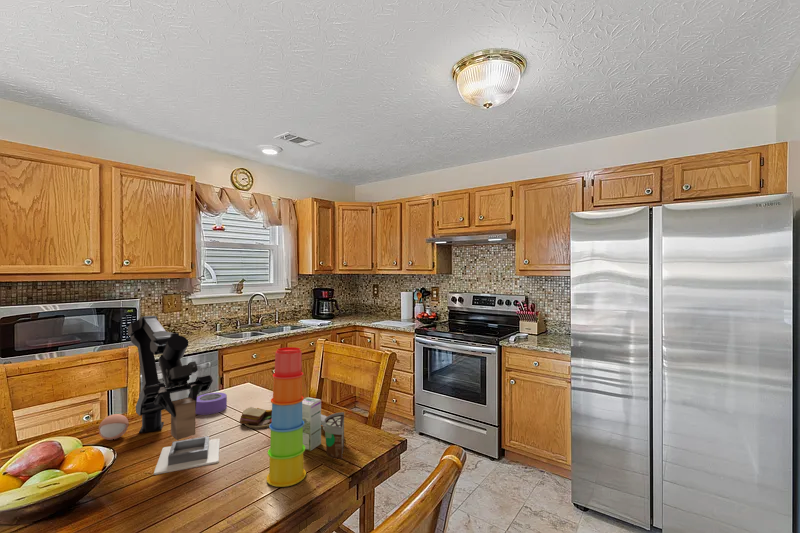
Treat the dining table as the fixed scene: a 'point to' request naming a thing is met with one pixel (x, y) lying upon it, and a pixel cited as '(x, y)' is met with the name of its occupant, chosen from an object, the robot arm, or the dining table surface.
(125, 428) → the toy ball
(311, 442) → the syrup box
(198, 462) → the mat
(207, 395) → the tape roll
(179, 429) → the walnut block
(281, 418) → the stacking cups
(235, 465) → the dining table surface
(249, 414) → the toy sandwich meal
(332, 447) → the food container
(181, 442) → the collar
